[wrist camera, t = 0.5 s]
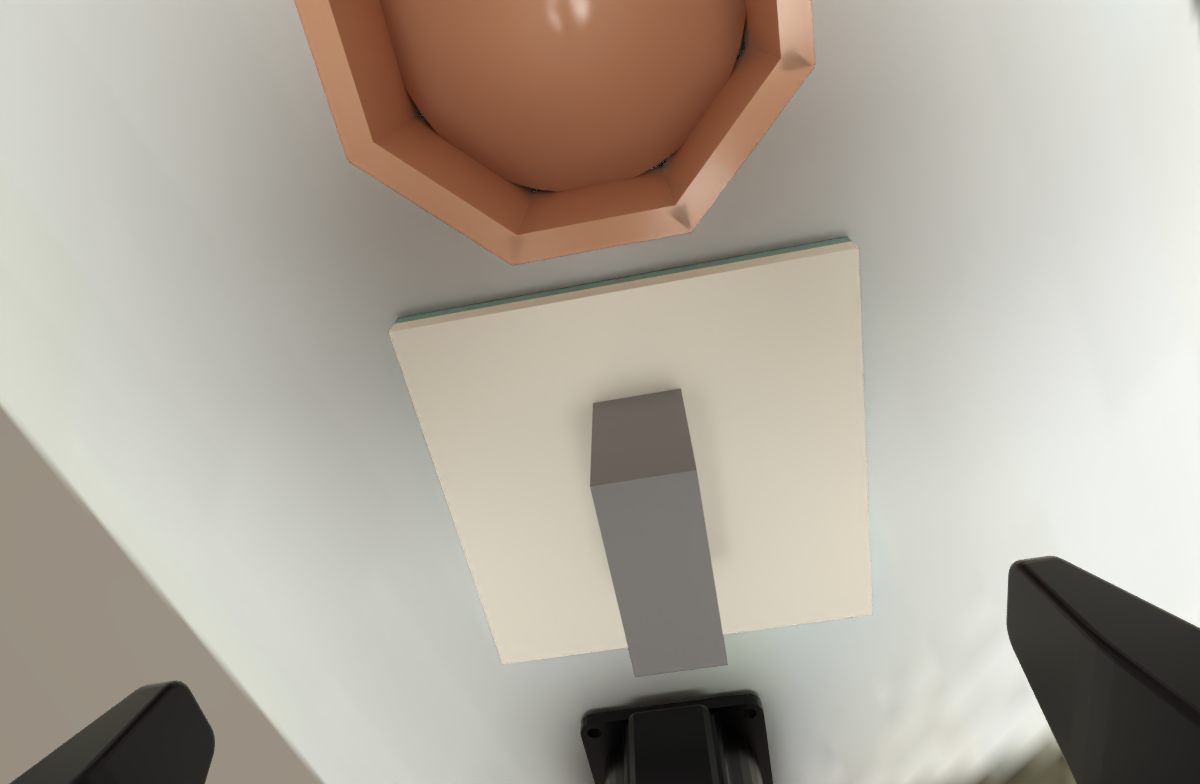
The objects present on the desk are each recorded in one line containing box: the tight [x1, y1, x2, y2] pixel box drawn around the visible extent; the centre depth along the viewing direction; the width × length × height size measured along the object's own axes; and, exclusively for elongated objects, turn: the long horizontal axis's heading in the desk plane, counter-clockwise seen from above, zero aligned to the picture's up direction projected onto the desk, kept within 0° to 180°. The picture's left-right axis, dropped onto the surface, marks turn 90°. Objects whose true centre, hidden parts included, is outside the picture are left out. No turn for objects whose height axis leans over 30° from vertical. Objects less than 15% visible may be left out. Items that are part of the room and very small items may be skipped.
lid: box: [388, 241, 873, 677], centre depth 20 cm, size 12×12×5 cm
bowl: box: [294, 0, 815, 265], centre depth 15 cm, size 9×9×4 cm
